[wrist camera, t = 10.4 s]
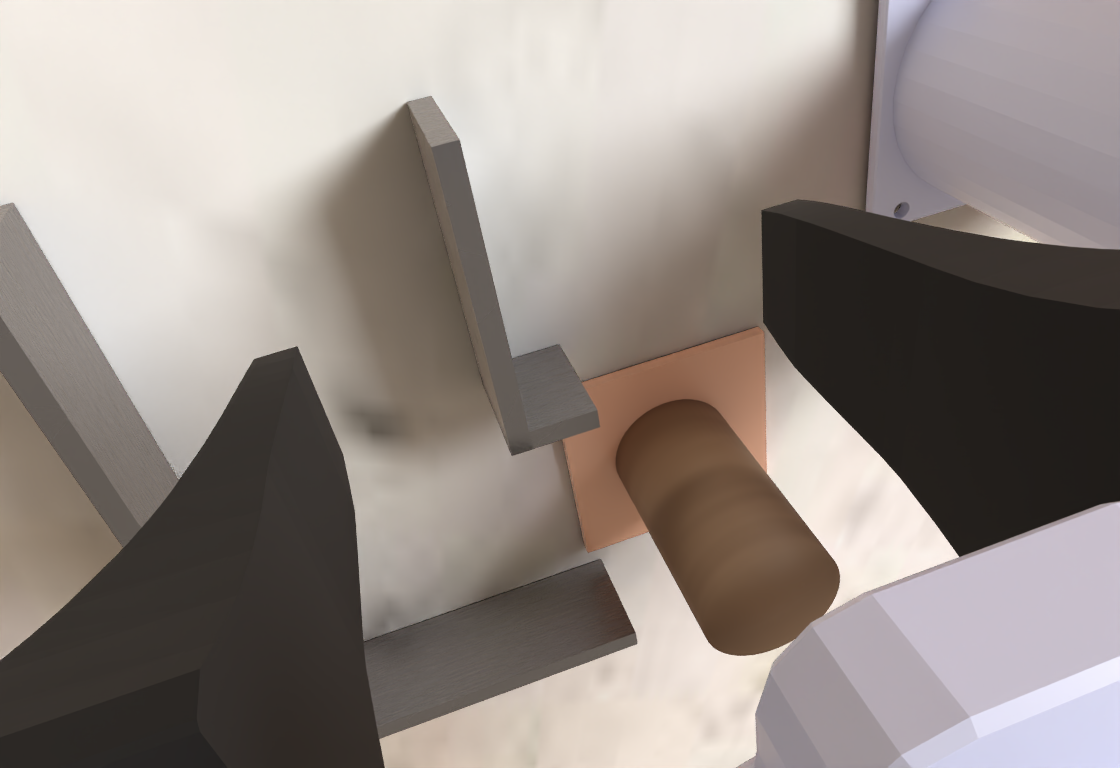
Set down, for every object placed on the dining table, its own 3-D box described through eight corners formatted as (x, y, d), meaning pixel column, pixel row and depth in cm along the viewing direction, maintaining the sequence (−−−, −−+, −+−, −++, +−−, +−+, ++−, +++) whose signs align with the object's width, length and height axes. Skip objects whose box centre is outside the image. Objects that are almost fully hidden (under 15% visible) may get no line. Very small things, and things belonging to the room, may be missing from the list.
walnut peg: (738, 462, 29) (849, 611, 23) (636, 513, 29) (723, 675, 23) (710, 379, 27) (827, 524, 21) (599, 435, 27) (686, 595, 21)
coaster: (758, 326, 27) (764, 332, 26) (761, 483, 31) (766, 490, 30) (552, 391, 26) (555, 398, 25) (584, 545, 30) (587, 552, 29)
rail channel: (507, 76, 20) (547, 116, 17) (603, 569, 31) (637, 643, 28) (-15, 209, 18) (-65, 278, 15) (279, 683, 29) (281, 775, 26)
